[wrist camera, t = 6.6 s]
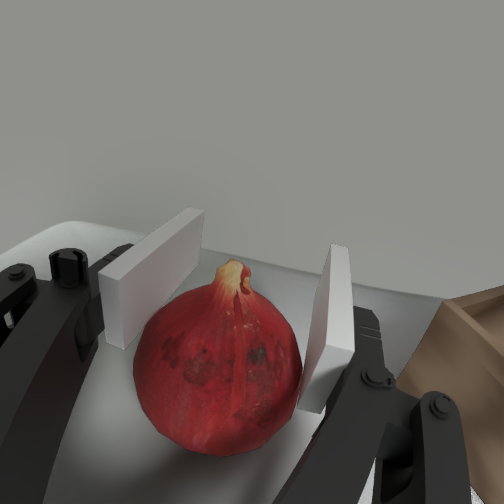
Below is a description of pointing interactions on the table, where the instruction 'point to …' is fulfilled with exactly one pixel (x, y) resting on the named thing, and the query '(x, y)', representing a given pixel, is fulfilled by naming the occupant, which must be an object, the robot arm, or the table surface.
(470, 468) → the walnut tray
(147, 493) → the table surface
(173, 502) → the table surface
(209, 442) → the onion
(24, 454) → the robot arm
